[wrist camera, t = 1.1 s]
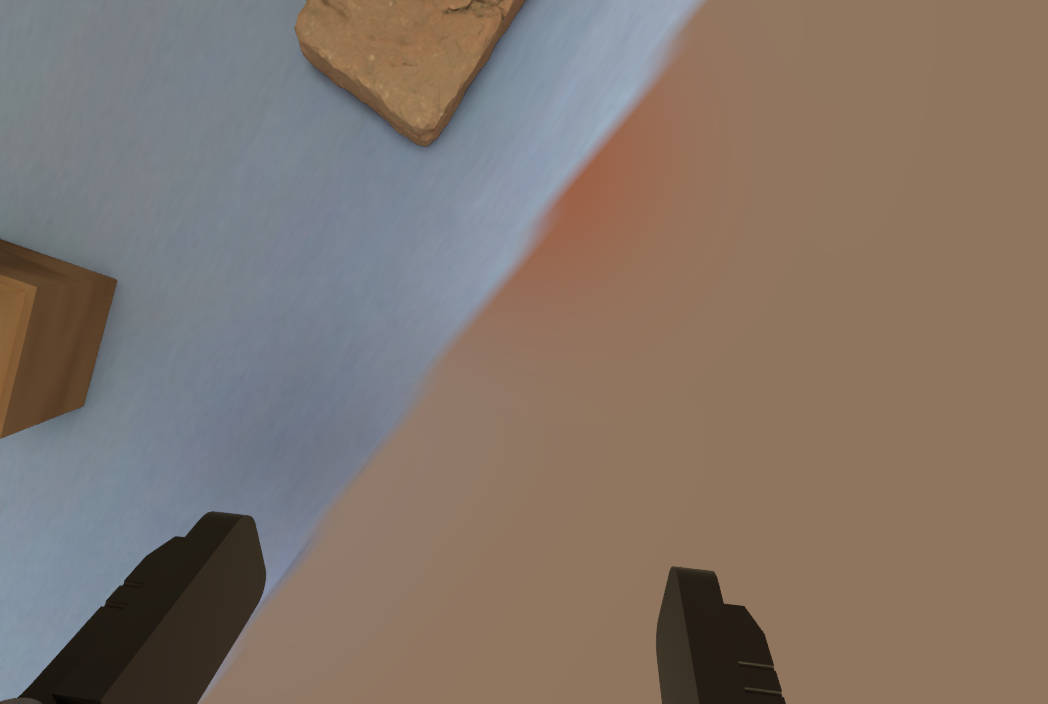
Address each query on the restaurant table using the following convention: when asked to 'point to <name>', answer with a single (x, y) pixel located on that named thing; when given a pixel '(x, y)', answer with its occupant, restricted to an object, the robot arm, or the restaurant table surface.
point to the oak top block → (8, 325)
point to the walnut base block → (51, 336)
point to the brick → (404, 53)
